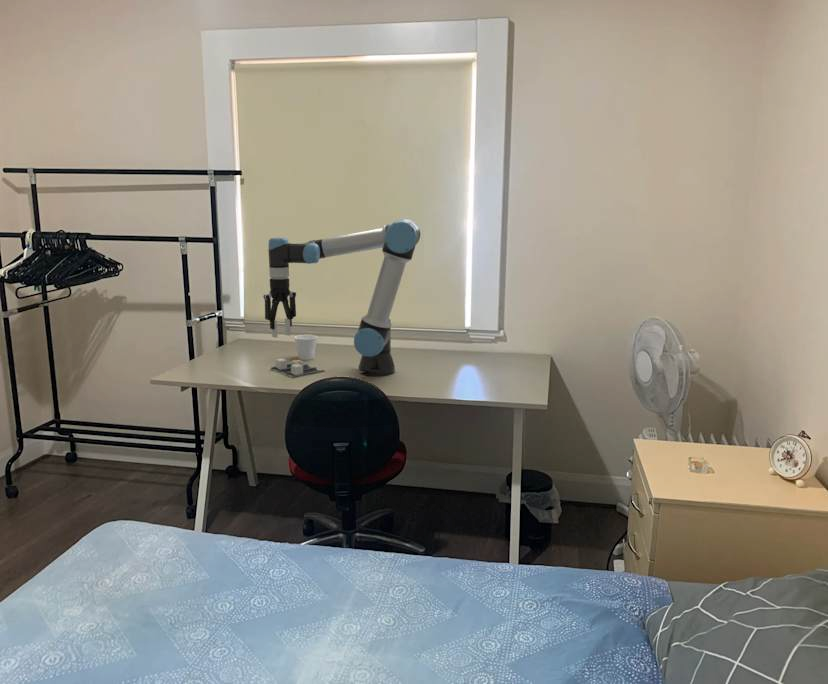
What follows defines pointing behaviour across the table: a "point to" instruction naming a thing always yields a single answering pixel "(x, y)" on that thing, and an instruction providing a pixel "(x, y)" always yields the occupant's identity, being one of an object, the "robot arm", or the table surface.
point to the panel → (306, 371)
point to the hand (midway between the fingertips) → (281, 335)
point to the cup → (305, 346)
